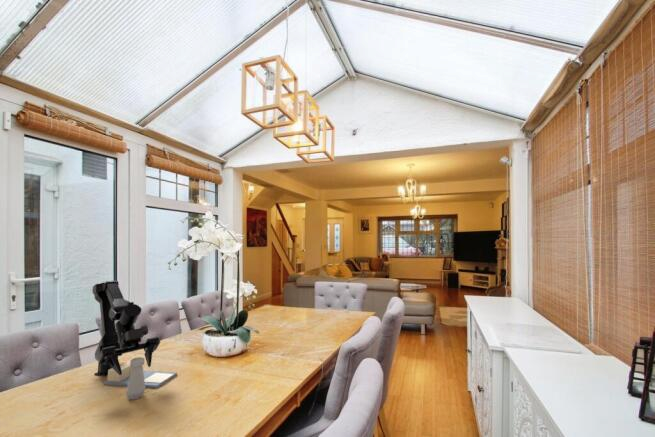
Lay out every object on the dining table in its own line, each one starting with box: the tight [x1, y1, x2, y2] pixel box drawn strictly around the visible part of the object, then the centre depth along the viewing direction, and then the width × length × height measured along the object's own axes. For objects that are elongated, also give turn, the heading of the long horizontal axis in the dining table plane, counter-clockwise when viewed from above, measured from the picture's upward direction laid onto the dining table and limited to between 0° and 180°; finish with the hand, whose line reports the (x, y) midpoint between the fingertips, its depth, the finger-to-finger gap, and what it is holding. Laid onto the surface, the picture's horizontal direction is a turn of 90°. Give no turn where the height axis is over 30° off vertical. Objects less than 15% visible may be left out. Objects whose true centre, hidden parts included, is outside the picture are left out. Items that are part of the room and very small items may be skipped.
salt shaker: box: [125, 356, 146, 401], centre depth 108 cm, size 6×6×13 cm
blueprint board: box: [103, 359, 178, 389], centre depth 122 cm, size 22×12×5 cm, turn 82°
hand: (135, 370), depth 109 cm, fingers open, 9 cm apart
